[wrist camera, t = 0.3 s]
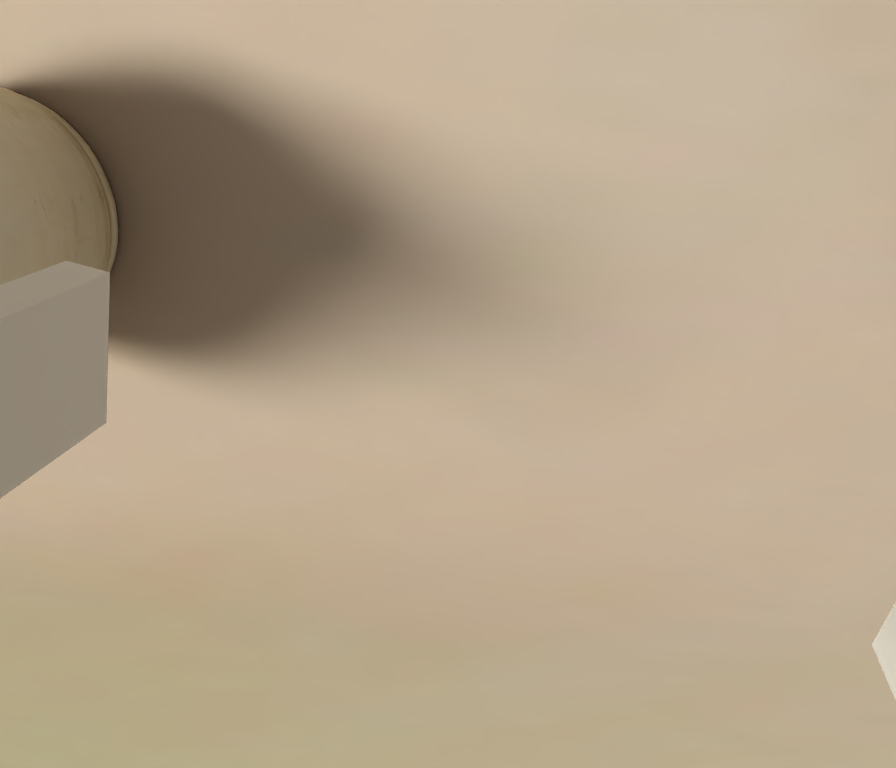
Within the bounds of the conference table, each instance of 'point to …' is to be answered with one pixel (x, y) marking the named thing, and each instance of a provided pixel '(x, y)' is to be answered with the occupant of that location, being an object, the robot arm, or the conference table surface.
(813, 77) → the conference table surface
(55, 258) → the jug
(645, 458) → the conference table surface
